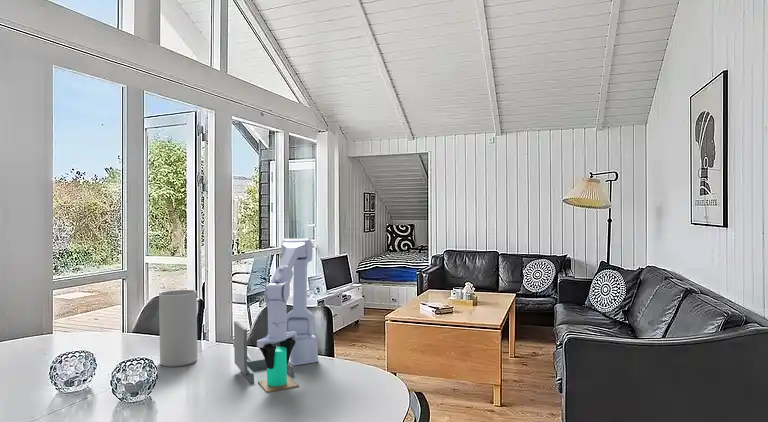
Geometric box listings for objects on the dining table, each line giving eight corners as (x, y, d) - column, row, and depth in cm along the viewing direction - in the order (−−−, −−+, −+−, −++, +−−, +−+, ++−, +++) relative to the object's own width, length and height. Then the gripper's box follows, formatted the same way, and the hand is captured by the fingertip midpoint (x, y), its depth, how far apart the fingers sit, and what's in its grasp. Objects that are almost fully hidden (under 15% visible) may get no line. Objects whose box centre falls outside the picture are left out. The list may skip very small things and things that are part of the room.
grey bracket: (280, 363, 182) (279, 315, 182) (293, 375, 169) (293, 323, 168) (233, 370, 174) (232, 320, 174) (244, 384, 161) (243, 329, 161)
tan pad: (288, 377, 167) (288, 376, 167) (299, 386, 158) (299, 385, 158) (258, 382, 162) (258, 381, 162) (266, 392, 153) (266, 391, 153)
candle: (287, 379, 164) (286, 341, 164) (286, 385, 158) (286, 346, 158) (268, 380, 163) (267, 342, 163) (266, 386, 157) (265, 347, 157)
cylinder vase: (167, 369, 177) (166, 296, 177) (155, 362, 186) (154, 292, 186) (203, 362, 185) (202, 292, 185) (189, 355, 195) (188, 288, 194)
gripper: (286, 316, 168) (286, 358, 168) (250, 324, 156) (250, 369, 156) (301, 318, 164) (301, 361, 164) (265, 327, 152) (266, 373, 152)
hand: (277, 365), depth 160 cm, fingers closed on candle, 5 cm apart
